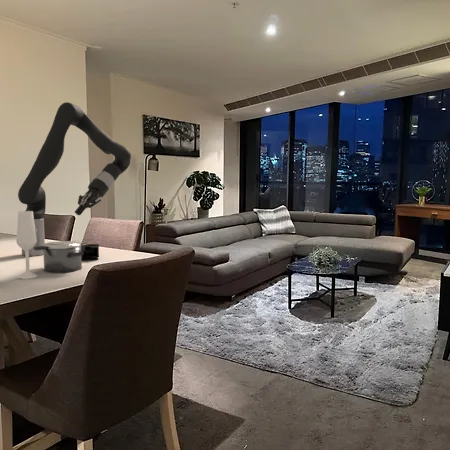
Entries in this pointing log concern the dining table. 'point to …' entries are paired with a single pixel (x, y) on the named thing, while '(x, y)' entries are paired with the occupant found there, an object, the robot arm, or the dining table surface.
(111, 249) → the dining table surface
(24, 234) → the champagne flute
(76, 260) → the pot
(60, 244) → the lid
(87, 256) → the end cap
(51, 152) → the robot arm
